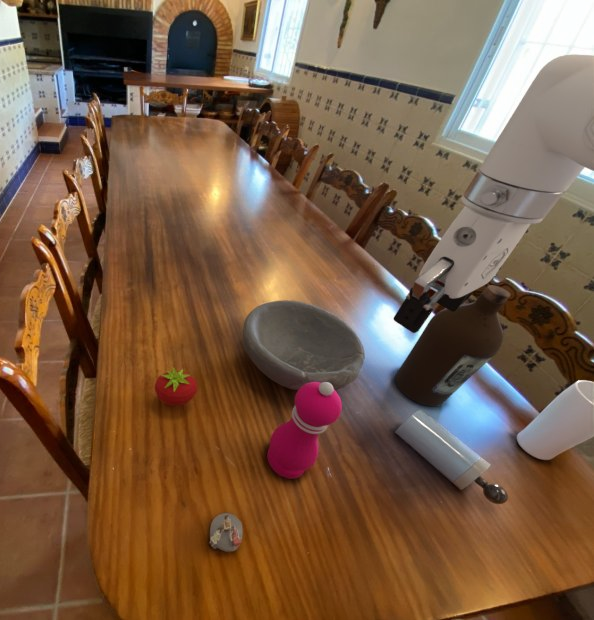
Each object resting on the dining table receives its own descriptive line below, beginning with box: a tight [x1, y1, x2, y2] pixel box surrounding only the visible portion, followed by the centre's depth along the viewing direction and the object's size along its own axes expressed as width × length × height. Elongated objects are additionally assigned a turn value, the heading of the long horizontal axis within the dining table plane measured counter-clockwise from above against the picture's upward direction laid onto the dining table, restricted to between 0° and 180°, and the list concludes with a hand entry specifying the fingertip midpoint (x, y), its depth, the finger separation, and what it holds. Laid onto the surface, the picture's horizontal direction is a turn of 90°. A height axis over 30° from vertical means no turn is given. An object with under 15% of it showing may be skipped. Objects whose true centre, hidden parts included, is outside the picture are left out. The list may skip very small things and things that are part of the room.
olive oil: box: [394, 284, 511, 407], centre depth 65 cm, size 11×11×25 cm
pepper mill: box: [266, 382, 343, 480], centre depth 53 cm, size 7×7×20 cm
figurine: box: [209, 512, 243, 553], centre depth 48 cm, size 5×4×6 cm
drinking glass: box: [516, 379, 594, 461], centre depth 60 cm, size 7×7×15 cm
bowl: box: [242, 299, 366, 391], centre depth 72 cm, size 23×22×10 cm
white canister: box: [395, 409, 509, 505], centre depth 58 cm, size 6×6×16 cm
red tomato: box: [154, 366, 198, 407], centre depth 63 cm, size 6×8×10 cm
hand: (424, 315), depth 49 cm, fingers open, 9 cm apart
